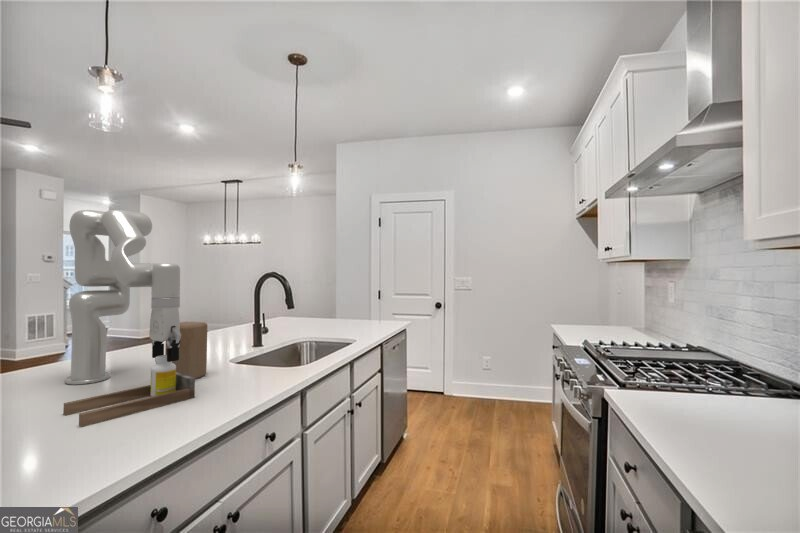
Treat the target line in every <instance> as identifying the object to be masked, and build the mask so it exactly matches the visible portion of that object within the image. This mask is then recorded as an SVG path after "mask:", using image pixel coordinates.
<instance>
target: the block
mask: <svg viewBox="0 0 800 533" xmlns="http://www.w3.org/2000/svg"><path fill="white" fill-rule="evenodd" d="M180 333H181V338H180V341H181V342H180V347H179V360H177V361H172V363H173V364H175V365H176V372H178V373H181V374H184V375H187V376H190V377H193V378H195V380H196V379H199V378H201V377H204V376H206V374H207V363H208V362H207V361H208V360H207V357H208V323H207V322H205V321H204V322H201V321H182V322H181V321H180ZM171 343H172V341H171ZM167 348H168V345H167V342H166V341H165V346H164V355H167Z"/></svg>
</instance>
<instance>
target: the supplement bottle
mask: <svg viewBox="0 0 800 533" xmlns="http://www.w3.org/2000/svg"><path fill="white" fill-rule="evenodd" d="M154 362H155V364H154V365H152V367H151V368H150V385H151V393H150V396H149V397H152V396H156V395H161V394H165V393H169V392H173V391H176V365H175V364H173V363H172V361H171V362H167V355H165V354H164V355H161V356H157V357H155V358H154Z"/></svg>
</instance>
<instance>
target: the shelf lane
mask: <svg viewBox="0 0 800 533" xmlns="http://www.w3.org/2000/svg"><path fill="white" fill-rule="evenodd" d="M195 387H196V379H195V378H193V377H190V376H187V375H184V374H181V373H178V372H176V391H173V392H169V393H165V394H161V395H156V396H152V397H150V393H151V384H149V385H143V386H137V387H134V388H129V389H124V390H120V391H115V392H110V393H104V394H100V395H95V396H91V397H86V398H82V399H77V400H72V401H67V402H64V403H63V409H62V410H63V414H62V415H63V416H68V415H74V414H78V426H79V427H80V428H83V427H87V426H90V424H91V425H93V424H98V423H102V422H106V421H109V419H110V420H114V419H116V418H117V417H118V418H121V416H122V417H125V416H129V415H133V414H136V413H141V412H144V411H148V410H152V409H156V408H159V407H163V406H167V405H171V404H175V403H179V402H183V401H186V400H190V399H194V398H195V394H196V393H195V392H196V390H195V389H196V388H195ZM113 418H114V419H113ZM118 418H117V419H118ZM105 420H106V421H105ZM101 421H102V422H101ZM86 425H87V426H86Z"/></svg>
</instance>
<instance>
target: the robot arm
mask: <svg viewBox="0 0 800 533" xmlns="http://www.w3.org/2000/svg"><path fill="white" fill-rule="evenodd" d="M152 230H153V222H152V219H151V218H150V216H148V215H147V214H145V213H143V212H141V211H140V212H139V211H138V212H137V211H133V210H125V209H110V210H107V211H102V210H92V209H82V210H77V211H75V212H74V213H73V214H72V215H71V216H70V220H69V233H70V237H71V241H72V242H73V246H74V279H75V282H76V284H77V285H79V286H81V287H87V288H89V287H93V288H94V287H109V289H108V290H107V289H103V290H101V289H100V290H99V289H98V290H95V289H94V290H93V289H91V290H82V291H79V292H75V293H74V294H72V295H71V297H70V298H69V300H68V307H69V312H70V318H71V352H70V355H71V356H70V358H71V359H70V360H71V361H70V376H68V377H66V378H65V379H64V383H65V384H67V385H85V384H86V385H87V384H93V383H98V382H102V381H106V380H108V379H110V378H111V374H112V373H111V372H107V371H106V366H107V365H106V362H107V358H106V357H107V327H106V325H105V324H104V322H103V321H102V320H101V319H100V318H102V317H112V316H119V315H123V314H125V313H126V312H127V311H128V310H129V307H130V303H131V294H130V293H131V291H130V290H131V289H130V288H151V298H150V299H151V303H150V308H151V313H150V320H149V332H148V333H149V339H150V340H152V341H151V345H152V346H151V348H152V349H151V350H152V352H151V357H152V359H155V357H157V356H161V355H165V343H166V342H167V345H168V348H167V362H171V361H177V360H179V347H180V342H181V341H180V338H181V333H180V322H181V321H180V310H179V309H180V308H181V267H180V266H179V265H180V264H179V265H178V264H176V263H150V262H131V261H130V259H129V258H128V257H131V256H134V255H136V254H139V253H141V252H142V250H144V249H145V247H146V245H147V240H146V238H145V237H146V236H148V235H149V234H151V232H152ZM97 236H103V237H109V238H110V240H111V242H112V243H113V245H114V249H113V250H112V253H111V255H110V260H107V259H106V247H105V245H104V244H103V242H102V241H101V239H100V238H99V237H97ZM171 341H172V343H171ZM164 342H165V343H164Z"/></svg>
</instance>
